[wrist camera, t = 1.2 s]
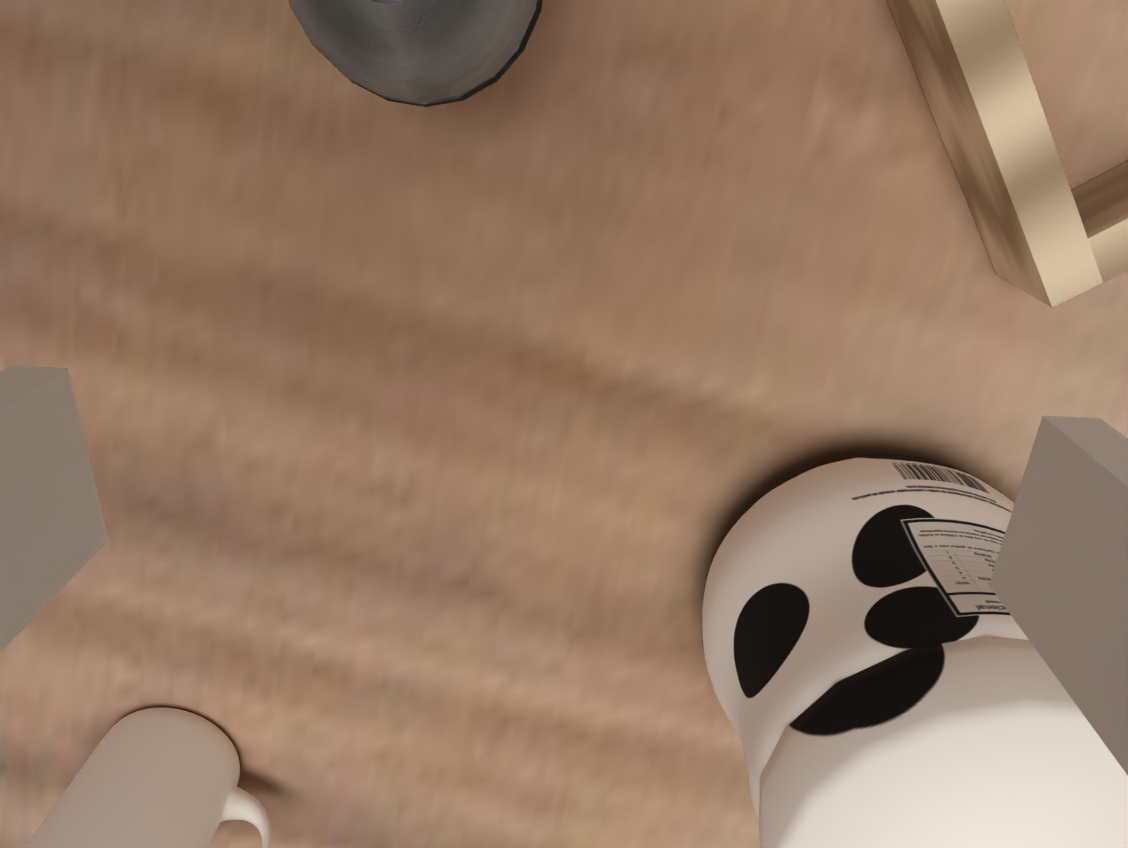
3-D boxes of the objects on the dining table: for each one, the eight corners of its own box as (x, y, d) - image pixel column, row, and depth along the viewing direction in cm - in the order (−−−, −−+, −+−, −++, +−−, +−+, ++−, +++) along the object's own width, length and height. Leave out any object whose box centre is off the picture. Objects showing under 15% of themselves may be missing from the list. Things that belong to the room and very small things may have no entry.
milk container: (764, 732, 49) (847, 1072, 33) (639, 513, 43) (665, 797, 27) (1056, 630, 45) (1314, 959, 29) (964, 372, 39) (1226, 606, 23)
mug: (282, 829, 54) (213, 1000, 45) (101, 779, 53) (-10, 944, 43) (310, 741, 51) (242, 905, 41) (117, 685, 50) (1, 841, 40)
